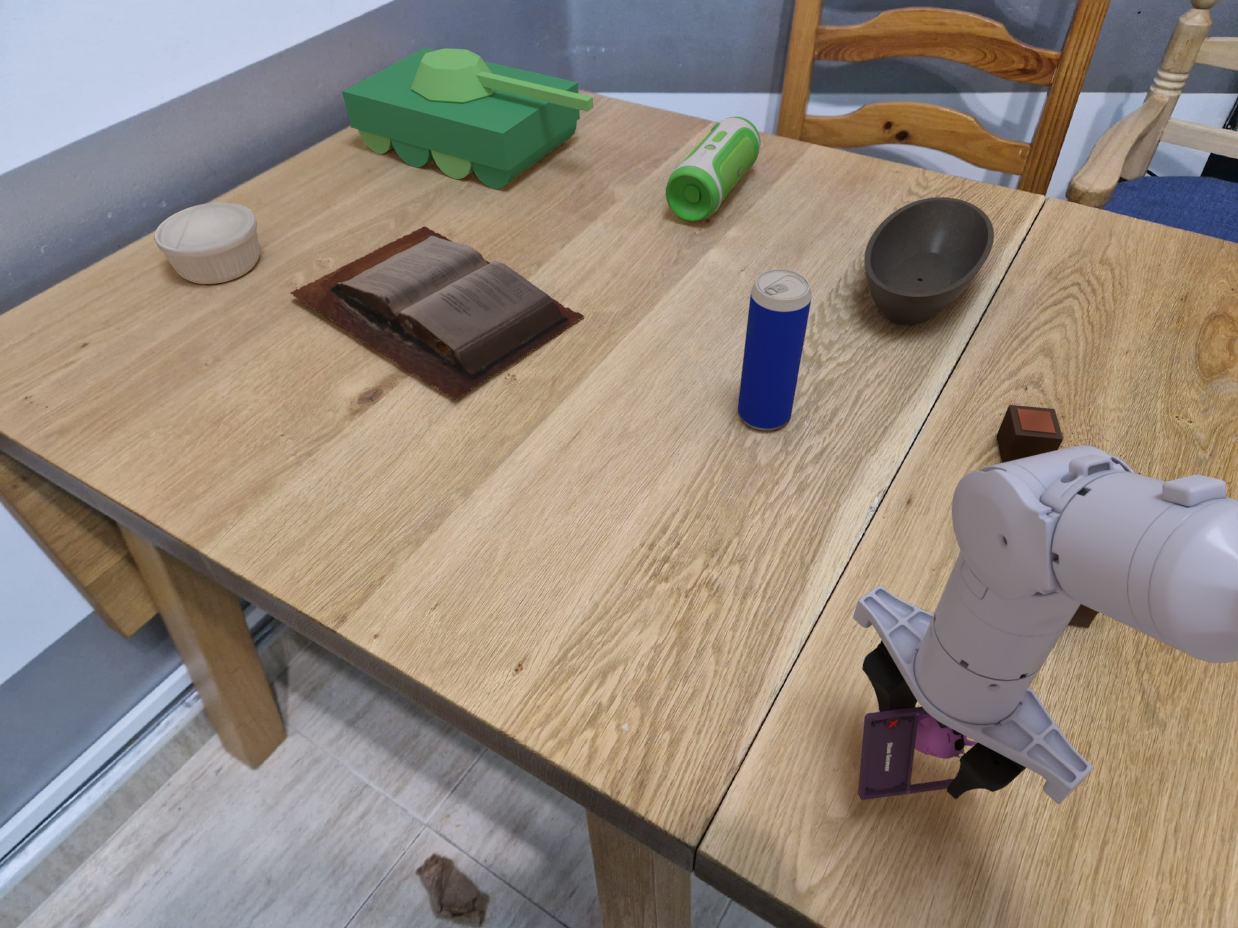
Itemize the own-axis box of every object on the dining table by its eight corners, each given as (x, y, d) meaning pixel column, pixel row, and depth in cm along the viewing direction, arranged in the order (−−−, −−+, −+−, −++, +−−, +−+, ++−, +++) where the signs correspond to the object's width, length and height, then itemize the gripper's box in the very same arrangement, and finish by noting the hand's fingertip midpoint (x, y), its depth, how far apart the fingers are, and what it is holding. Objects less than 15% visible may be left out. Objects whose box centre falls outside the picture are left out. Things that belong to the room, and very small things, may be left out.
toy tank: (552, 117, 103) (335, 63, 116) (559, 210, 112) (356, 151, 125) (626, 65, 113) (419, 21, 126) (627, 154, 122) (434, 104, 135)
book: (456, 408, 85) (452, 372, 82) (289, 298, 98) (280, 263, 95) (590, 325, 97) (591, 290, 94) (426, 236, 109) (422, 203, 106)
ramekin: (157, 261, 104) (139, 222, 101) (245, 230, 109) (231, 191, 105) (191, 302, 98) (173, 262, 94) (283, 267, 103) (270, 227, 99)
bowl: (829, 325, 94) (839, 276, 89) (897, 233, 106) (909, 186, 102) (940, 361, 89) (956, 311, 85) (997, 260, 102) (1013, 213, 97)
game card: (871, 726, 50) (1019, 707, 51) (840, 669, 55) (976, 652, 56) (864, 809, 53) (1003, 790, 54) (835, 748, 58) (964, 731, 59)
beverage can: (766, 391, 86) (784, 260, 75) (801, 419, 83) (826, 288, 72) (726, 411, 84) (739, 280, 73) (761, 441, 81) (780, 309, 70)
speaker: (714, 232, 107) (718, 176, 102) (660, 220, 110) (662, 164, 104) (761, 171, 118) (767, 117, 113) (711, 161, 121) (715, 107, 115)
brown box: (1040, 440, 81) (1055, 407, 78) (1047, 470, 78) (1064, 438, 75) (995, 436, 81) (1009, 403, 78) (1001, 466, 78) (1016, 433, 75)
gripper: (1164, 692, 42) (1066, 807, 52) (930, 514, 51) (883, 642, 60) (1079, 773, 40) (992, 879, 49) (846, 571, 48) (811, 695, 58)
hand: (927, 753), depth 55 cm, fingers closed on game card, 5 cm apart
